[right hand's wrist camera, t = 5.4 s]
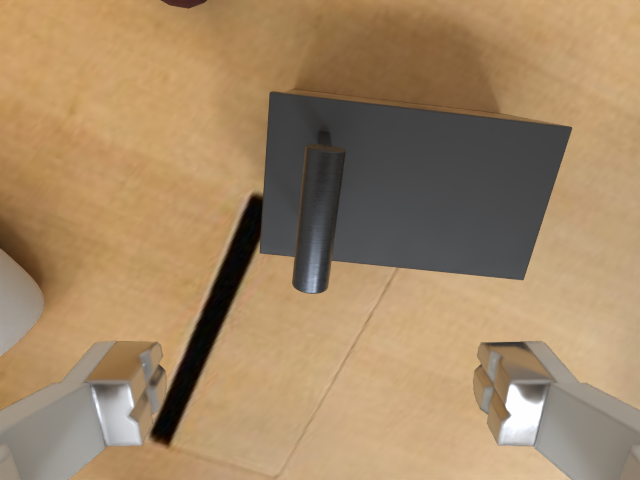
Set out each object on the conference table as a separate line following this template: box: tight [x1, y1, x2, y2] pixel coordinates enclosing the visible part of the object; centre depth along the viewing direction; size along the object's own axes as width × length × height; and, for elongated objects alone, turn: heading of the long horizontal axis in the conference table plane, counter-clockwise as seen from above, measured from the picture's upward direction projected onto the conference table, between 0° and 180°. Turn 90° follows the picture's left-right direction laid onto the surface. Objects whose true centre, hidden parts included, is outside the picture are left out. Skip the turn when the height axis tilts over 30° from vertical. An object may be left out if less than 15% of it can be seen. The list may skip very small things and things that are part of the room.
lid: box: [260, 92, 572, 294], centre depth 23 cm, size 18×10×9 cm, turn 84°
